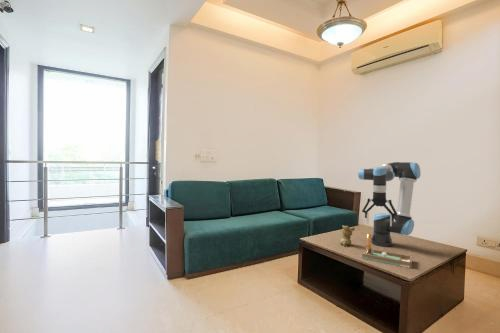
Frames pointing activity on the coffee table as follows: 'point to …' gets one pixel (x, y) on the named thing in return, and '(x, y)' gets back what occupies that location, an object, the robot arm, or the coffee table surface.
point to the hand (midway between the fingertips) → (378, 224)
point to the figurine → (346, 236)
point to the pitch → (389, 258)
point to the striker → (369, 245)
